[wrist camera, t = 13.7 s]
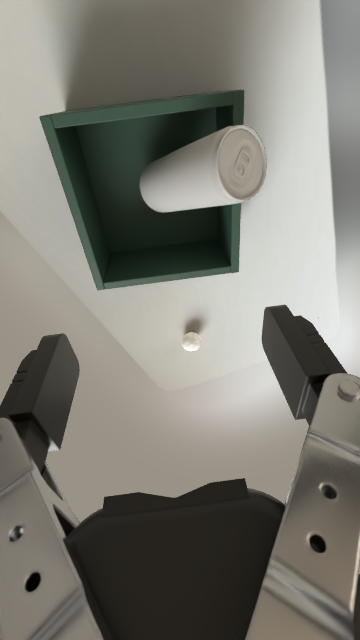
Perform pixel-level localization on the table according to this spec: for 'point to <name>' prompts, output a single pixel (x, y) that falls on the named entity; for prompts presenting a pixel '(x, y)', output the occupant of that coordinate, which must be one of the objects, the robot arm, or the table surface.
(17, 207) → the table surface
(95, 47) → the table surface
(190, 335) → the polyhedron
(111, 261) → the bin
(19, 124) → the table surface
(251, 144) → the beverage can
